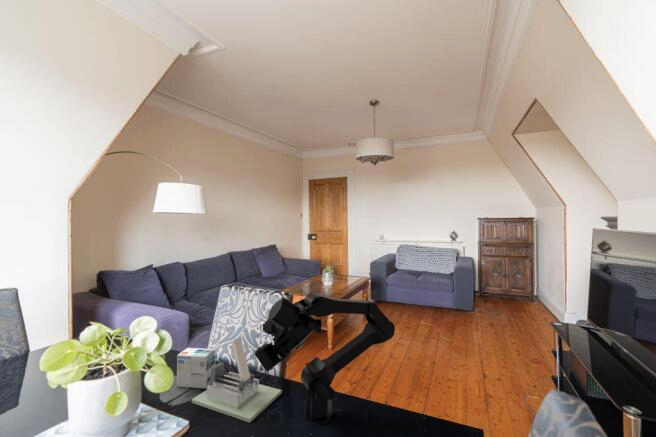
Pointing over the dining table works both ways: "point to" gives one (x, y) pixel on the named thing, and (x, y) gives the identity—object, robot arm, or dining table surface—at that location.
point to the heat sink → (230, 388)
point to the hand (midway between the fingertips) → (264, 363)
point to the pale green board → (245, 411)
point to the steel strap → (241, 361)
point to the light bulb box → (195, 367)
